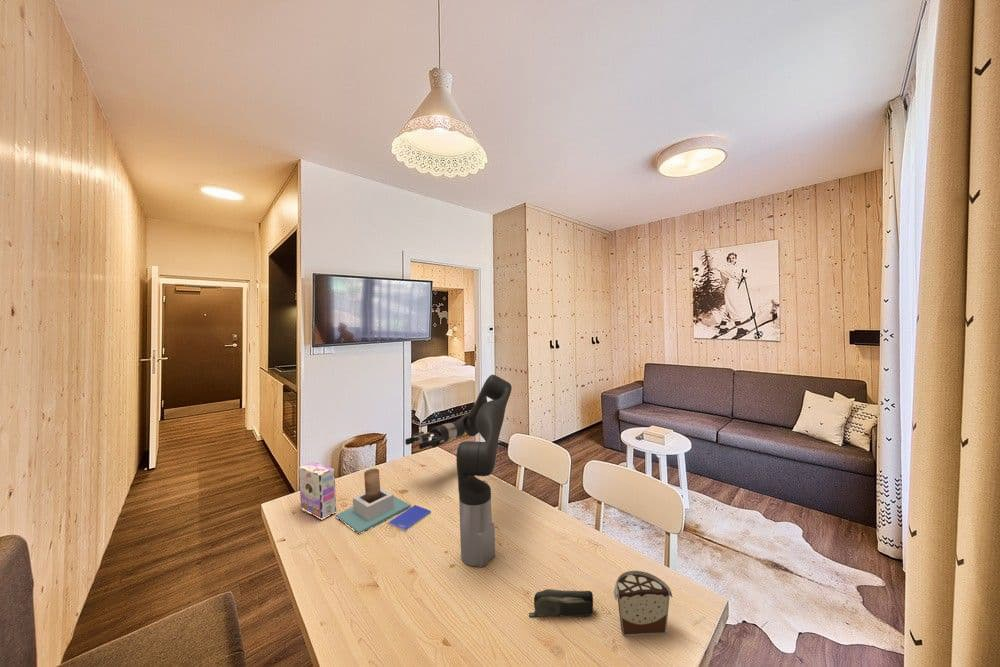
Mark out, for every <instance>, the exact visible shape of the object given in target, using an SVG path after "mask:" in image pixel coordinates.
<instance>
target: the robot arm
mask: <svg viewBox="0 0 1000 667" xmlns="http://www.w3.org/2000/svg"><path fill="white" fill-rule="evenodd" d="M511 393H512V384H511V383H510V382H508V381H507V380H505V379H503V378H501V377H500V376H498V375H496V374H490V375H489V376H488V377H487V378H486V381H485V382H484V383H483V386H482V387H481V390H480V392H479V393H478V395H477V398H476V400H475V403H474V405H473V407H471V409H470V411H469V412H468V413H465V414H464V415H462V416H461V417H460V418H458V419H456V420H455V421H452V422H448V423H444V424H443V423H442V424H441V425H437V426H434V427H432V428H431V429H430V431H429V432H424V431H420V432H416V433H412V434H411V436H410V437H407V438H405V441H404V442H405V445H406V446H407V445H410V444H411V445H412V444H414V443H419V444H418V448H419V450H423V449H426V448H431V447H432V448H433V449H434V448H437V447H438V446H439V447H440V446H441V445H444V444H445V443H449V442H451V441H452V440H455V439H458V438H460V437H462V436H463V435H465V434H466V435H467V436H469V437H474V436H476V435H480V436H481V437H482V439H483V440H484V441H469V440H468V441H461V442H460V443H459V445H458V447H457V450H456V456H455V457H456V472H457V473H456V475H457V485H458V486H457V487H458V488H457V489H458V490H457V491H458V496H459V498H458V501H459V538H460V559H461V561H462V562H463V563H464V564H466V565H468V566H471V567H480V568H483V567H484V566H485V565H487V564H488V563H489V562H490V561H491V560H492V559H493V558H495V556H496V536H495V535H496V532H495V531H496V530H495V527H496V526H495V523H493V522H492V521H493V519H492V513H493V512H492V488H491V486H490V485H489V483H487V482H486V481H484V480H481V479H479V478H478V477H486V476H490V475H492V473H493V471H494V469H495V466H496V458H497V452H498V451H497V450H498V445H499V439H500V434H501V430H502V426H503V423H504V420H505V413H506V407H507V406H508V402H509V399H510V396H511ZM488 399H490V400H489V401H488Z"/></svg>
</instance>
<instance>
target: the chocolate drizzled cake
mask: <svg viewBox="0 0 1000 667" xmlns="http://www.w3.org/2000/svg"><path fill="white" fill-rule="evenodd" d="M613 594H614V599H615V601H617V603H618V605H617V606H618V612H619V622H620V630H621V634H622V637H633V636H649V635H666V634H667V626H668V625H667V624H668V616H669V615H668V614H669V607H670V597H671V598H673V593H672V590H671V588H670V586H669V585H668V584H667V583H666V582H665V581H664V580H662V579H661V578H659V577H658V576H656V575H654V574H652V573H649V572H647V571H642V570H629V571H625V572H623V573H621V574H620V575H619V576H618V578H617V580H616V581H615V585H614V589H613Z"/></svg>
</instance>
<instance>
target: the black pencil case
mask: <svg viewBox="0 0 1000 667" xmlns="http://www.w3.org/2000/svg"><path fill="white" fill-rule="evenodd" d="M533 605H534V612H529V613H528V617H569V618H577V617H578V618H586V617H591V616H592V615H593V613H594V594H593V592H592V591H590V590H560V589H554V588H553V589H552V588H551V589H549V588H548V589H547V588H545V589H544V590H541V591H538V592H536V593H535V594H534V599H533Z"/></svg>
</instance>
